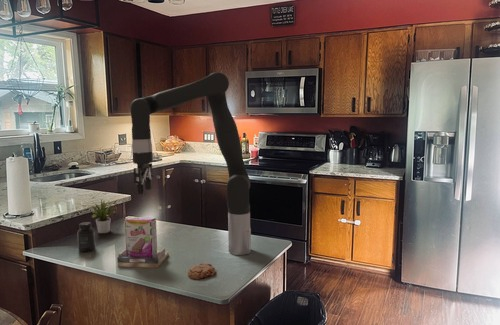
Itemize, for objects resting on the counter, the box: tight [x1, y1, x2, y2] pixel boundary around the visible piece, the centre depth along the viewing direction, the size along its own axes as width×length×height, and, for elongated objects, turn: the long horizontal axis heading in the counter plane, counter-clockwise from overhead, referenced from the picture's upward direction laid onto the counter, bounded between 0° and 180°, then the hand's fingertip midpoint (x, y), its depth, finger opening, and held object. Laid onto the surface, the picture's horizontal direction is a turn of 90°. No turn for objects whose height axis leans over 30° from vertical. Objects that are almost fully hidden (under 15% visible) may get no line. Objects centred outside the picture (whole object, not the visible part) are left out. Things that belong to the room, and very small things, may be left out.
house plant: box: [88, 199, 117, 234], centre depth 188 cm, size 14×14×16 cm
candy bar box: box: [124, 216, 158, 258], centre depth 150 cm, size 11×5×16 cm, turn 80°
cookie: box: [187, 263, 216, 280], centre depth 140 cm, size 10×11×3 cm
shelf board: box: [116, 247, 169, 268], centre depth 152 cm, size 16×13×4 cm
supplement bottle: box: [77, 221, 96, 253], centre depth 164 cm, size 7×7×12 cm
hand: (144, 191), depth 150 cm, fingers open, 8 cm apart
